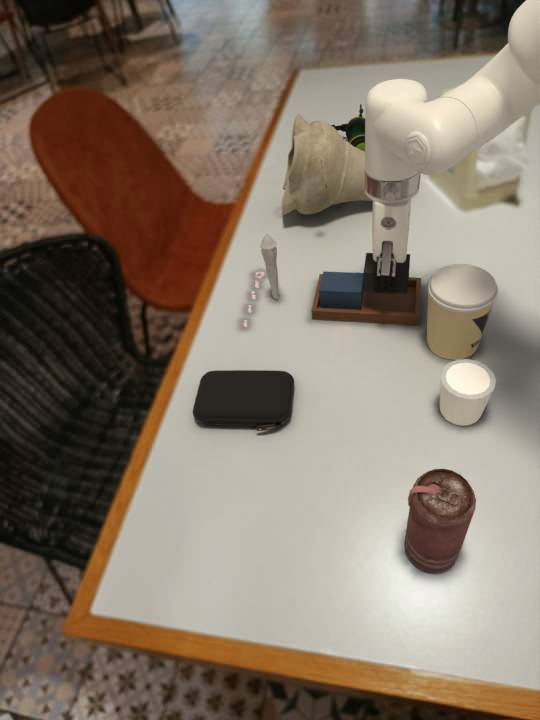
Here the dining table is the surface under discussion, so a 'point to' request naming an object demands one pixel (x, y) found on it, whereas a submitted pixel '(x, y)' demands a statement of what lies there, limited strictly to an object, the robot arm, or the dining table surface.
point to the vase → (321, 169)
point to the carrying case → (244, 398)
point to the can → (438, 519)
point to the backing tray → (377, 307)
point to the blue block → (341, 290)
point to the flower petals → (254, 293)
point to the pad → (371, 266)
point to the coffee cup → (458, 309)
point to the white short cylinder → (465, 391)
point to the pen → (271, 263)
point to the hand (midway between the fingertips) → (386, 279)
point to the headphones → (355, 130)
